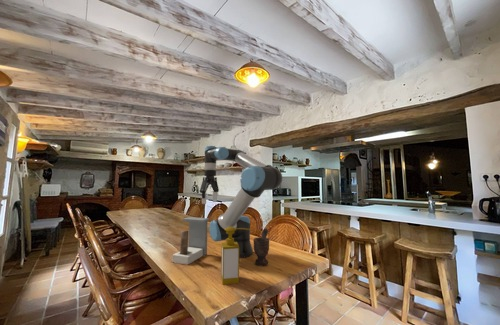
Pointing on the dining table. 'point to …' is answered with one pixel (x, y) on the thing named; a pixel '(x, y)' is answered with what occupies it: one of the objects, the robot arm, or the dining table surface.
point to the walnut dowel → (184, 243)
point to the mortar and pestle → (261, 248)
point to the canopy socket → (194, 241)
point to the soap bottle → (230, 259)
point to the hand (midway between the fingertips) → (209, 202)
